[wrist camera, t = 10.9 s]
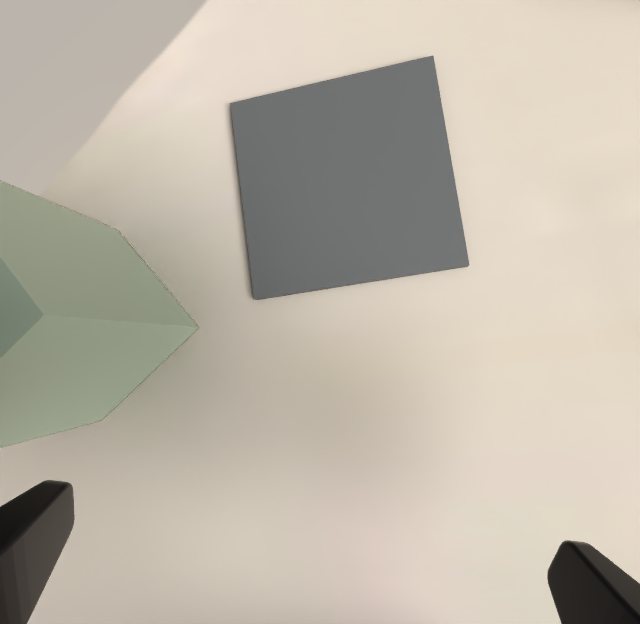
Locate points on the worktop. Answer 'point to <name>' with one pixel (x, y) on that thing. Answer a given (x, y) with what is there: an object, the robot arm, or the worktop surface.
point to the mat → (348, 181)
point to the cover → (74, 318)
